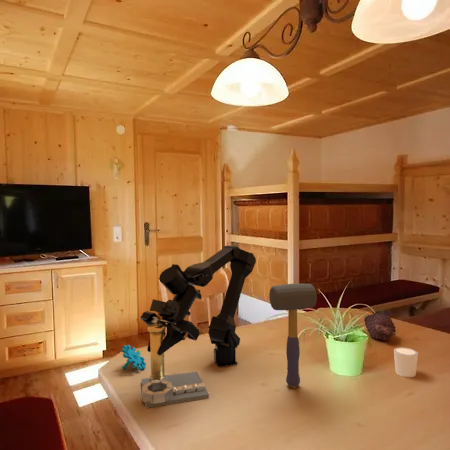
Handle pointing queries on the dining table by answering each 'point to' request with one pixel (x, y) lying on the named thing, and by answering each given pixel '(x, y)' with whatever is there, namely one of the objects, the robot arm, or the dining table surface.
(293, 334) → the rubber mallet
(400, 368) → the shot glass
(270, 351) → the dining table surface
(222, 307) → the robot arm
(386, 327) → the pine cone
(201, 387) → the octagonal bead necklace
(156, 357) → the golden flared cup
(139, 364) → the gear
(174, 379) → the grey base plate
